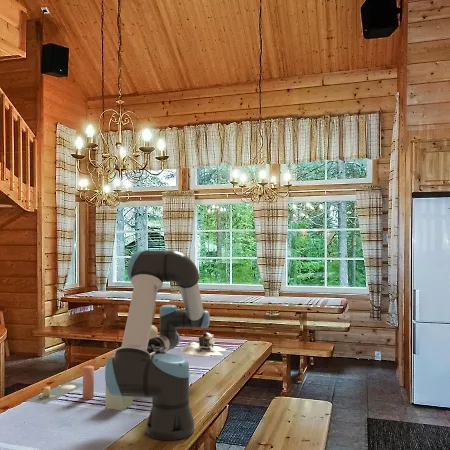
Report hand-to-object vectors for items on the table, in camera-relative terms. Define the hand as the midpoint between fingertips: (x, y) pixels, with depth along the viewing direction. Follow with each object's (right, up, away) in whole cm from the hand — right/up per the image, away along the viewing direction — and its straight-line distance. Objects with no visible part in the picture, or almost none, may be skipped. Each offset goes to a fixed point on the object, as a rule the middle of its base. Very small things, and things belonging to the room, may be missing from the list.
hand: (130, 357), depth 174 cm
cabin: (+26, -19, +76) cm, 83 cm away
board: (-30, -16, +6) cm, 34 cm away
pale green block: (-2, -16, -7) cm, 17 cm away
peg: (-16, -16, 0) cm, 22 cm away
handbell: (-7, -18, +80) cm, 82 cm away
